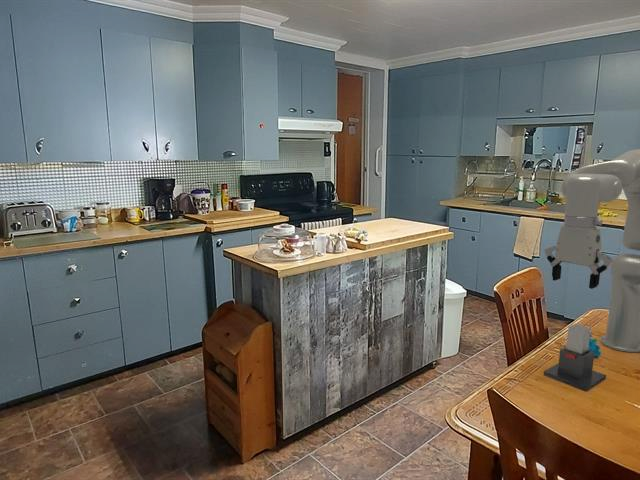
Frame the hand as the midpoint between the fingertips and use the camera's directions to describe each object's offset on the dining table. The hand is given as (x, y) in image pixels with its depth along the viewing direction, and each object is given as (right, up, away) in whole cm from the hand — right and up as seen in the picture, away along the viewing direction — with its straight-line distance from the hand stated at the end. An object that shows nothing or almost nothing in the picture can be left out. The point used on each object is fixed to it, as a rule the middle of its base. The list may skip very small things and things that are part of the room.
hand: (574, 283), depth 122 cm
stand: (+5, -28, +8) cm, 30 cm away
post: (+5, -27, +8) cm, 28 cm away
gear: (+18, -25, +23) cm, 39 cm away
